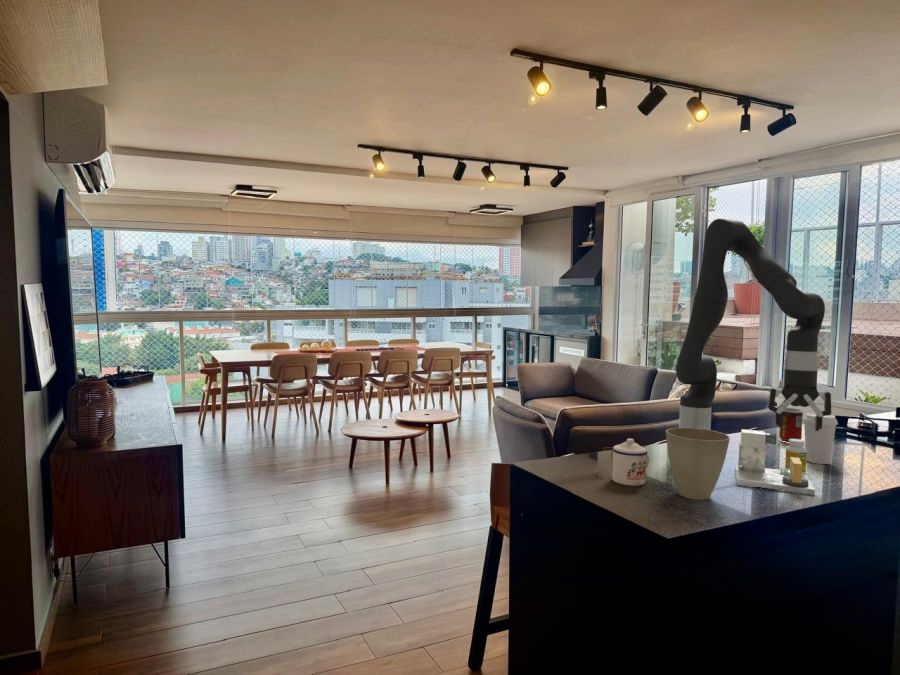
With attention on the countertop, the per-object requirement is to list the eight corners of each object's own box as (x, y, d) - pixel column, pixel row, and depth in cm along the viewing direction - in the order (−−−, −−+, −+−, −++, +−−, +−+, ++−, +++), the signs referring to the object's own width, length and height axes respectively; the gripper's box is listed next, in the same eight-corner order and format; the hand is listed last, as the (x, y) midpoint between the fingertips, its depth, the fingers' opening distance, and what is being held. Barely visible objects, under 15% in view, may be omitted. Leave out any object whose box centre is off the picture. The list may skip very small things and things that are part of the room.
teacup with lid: (630, 488, 154) (631, 444, 154) (604, 479, 162) (605, 437, 161) (660, 482, 160) (662, 439, 160) (634, 473, 168) (636, 433, 168)
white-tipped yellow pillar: (809, 488, 153) (811, 465, 152) (783, 484, 155) (784, 462, 155) (806, 481, 159) (807, 459, 159) (781, 478, 162) (782, 456, 161)
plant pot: (654, 495, 148) (656, 433, 147) (675, 483, 160) (677, 425, 159) (716, 509, 139) (719, 442, 138) (734, 495, 150) (737, 433, 149)
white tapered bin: (803, 463, 185) (805, 416, 184) (798, 457, 194) (800, 411, 193) (838, 467, 181) (841, 419, 180) (831, 460, 190) (834, 414, 189)
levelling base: (736, 485, 159) (739, 439, 159) (735, 469, 176) (737, 428, 175) (814, 495, 152) (816, 447, 151) (805, 478, 168) (807, 434, 168)
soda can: (804, 442, 216) (806, 409, 215) (795, 445, 212) (797, 411, 211) (784, 439, 222) (786, 406, 221) (775, 441, 217) (777, 408, 217)
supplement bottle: (790, 468, 178) (792, 437, 178) (809, 473, 174) (811, 441, 173) (781, 471, 175) (782, 439, 175) (800, 475, 171) (801, 442, 170)
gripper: (771, 367, 155) (768, 428, 156) (835, 370, 149) (832, 434, 150) (769, 365, 162) (766, 424, 163) (830, 368, 156) (827, 429, 157)
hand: (798, 428), depth 156 cm, fingers open, 8 cm apart
